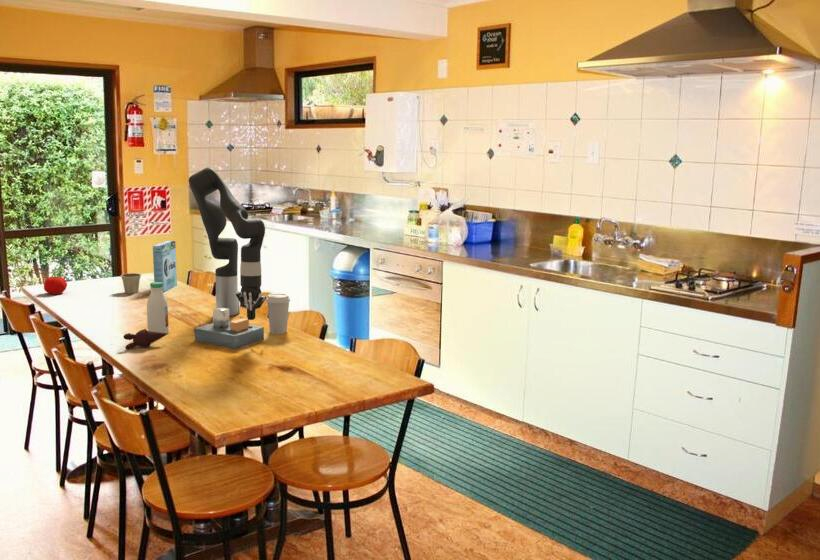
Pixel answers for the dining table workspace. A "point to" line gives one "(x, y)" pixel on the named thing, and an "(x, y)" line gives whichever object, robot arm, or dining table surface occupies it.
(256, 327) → the jig
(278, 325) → the coffee cup
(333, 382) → the dining table surface
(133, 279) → the flower pot
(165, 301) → the milk bottle
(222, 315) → the grey white cylinder
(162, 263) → the gum box
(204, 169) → the robot arm
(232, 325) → the block
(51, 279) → the tomato
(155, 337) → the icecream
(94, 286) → the dining table surface
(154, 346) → the dining table surface
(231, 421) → the dining table surface
